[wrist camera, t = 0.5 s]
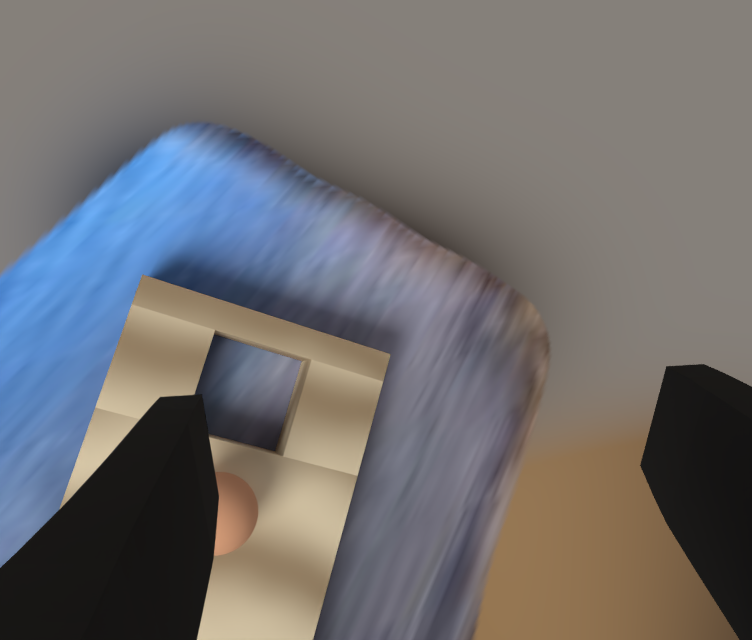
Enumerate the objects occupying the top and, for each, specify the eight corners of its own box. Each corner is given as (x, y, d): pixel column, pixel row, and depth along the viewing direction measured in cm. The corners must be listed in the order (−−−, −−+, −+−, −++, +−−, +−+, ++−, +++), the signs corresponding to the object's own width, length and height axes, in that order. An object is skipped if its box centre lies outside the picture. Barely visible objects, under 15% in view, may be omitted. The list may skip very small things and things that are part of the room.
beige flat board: (283, 689, 33) (292, 713, 31) (15, 647, 29) (2, 671, 27) (376, 356, 36) (390, 354, 34) (144, 282, 33) (142, 274, 30)
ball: (239, 551, 30) (249, 573, 27) (164, 535, 29) (164, 555, 26) (262, 477, 31) (273, 488, 28) (189, 458, 30) (191, 468, 27)
